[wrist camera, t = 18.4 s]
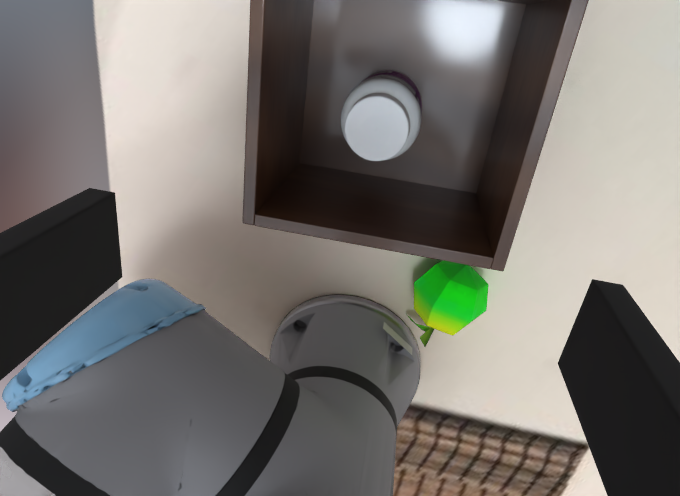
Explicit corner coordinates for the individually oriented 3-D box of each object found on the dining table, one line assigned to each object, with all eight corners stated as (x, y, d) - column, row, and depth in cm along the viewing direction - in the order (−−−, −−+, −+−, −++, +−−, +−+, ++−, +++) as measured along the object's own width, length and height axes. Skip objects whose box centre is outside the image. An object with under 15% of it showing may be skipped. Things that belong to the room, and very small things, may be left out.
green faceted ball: (467, 290, 37) (422, 377, 41) (518, 285, 40) (472, 365, 44) (411, 240, 41) (376, 322, 45) (461, 240, 45) (424, 315, 49)
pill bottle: (405, 149, 39) (399, 186, 31) (344, 124, 39) (321, 155, 31) (433, 83, 37) (435, 104, 28) (368, 57, 37) (350, 70, 28)
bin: (482, 200, 41) (503, 271, 30) (292, 167, 43) (242, 223, 31) (539, -7, 34) (594, -18, 23) (309, -37, 36) (252, -61, 24)
